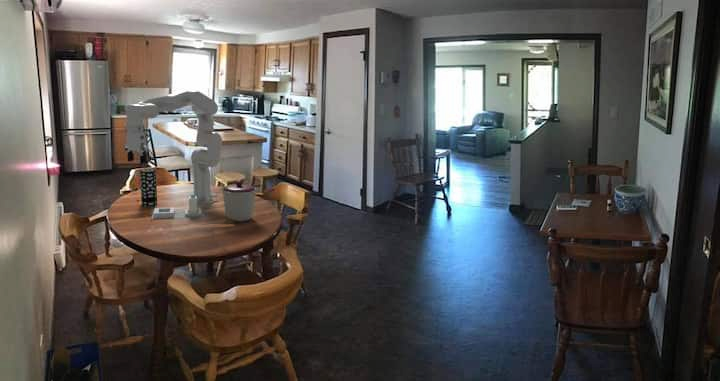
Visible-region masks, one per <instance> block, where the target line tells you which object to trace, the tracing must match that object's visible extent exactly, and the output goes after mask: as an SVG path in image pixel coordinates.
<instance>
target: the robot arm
mask: <svg viewBox="0 0 720 381" xmlns="http://www.w3.org/2000/svg"><path fill="white" fill-rule="evenodd" d="M189 106H190V107H191V110H192V111H193V113H194V114H195V116H196V117H197V120H198V126H197V133H196V140H195V141H196V144H197V145H198V146H199V147H202V148H197V149H195V150H193V151H192V153H191V155H190V162H191V164H192V173H193V174H192V175H193V176H192V178H193V180H192V181H193V195H195V196H197V205H198V206H199V205H210V204H212V203H215V202H214V198H218V197H219V196H218V194H217V193H214V194H213V193H211V192H212V191H211V171H210V168H215V167H217V166H218V165H219V162H220V160H221V153H222V147H223V138H222V136H221V134H220V133H218V132H217V131H214V123H215V122H214V119H213V116H214V115H216V114H217V113H218V109H219V107H218V103H217V102H216V101H215V100H213V99H212V98H211V97H209V96H207V95H206V94H204V93H203V92H201V91H198V90H197V89H195V90H193V89H184V90H180V91H177V92H174V93H170V94H168V95H163V96H158V97H154V98H148V99H145V100H142V101H140V102H139V101H138V102H137V103H131V104H127V105H126V106H125V114H126V129H127V131H126V142H125V143H124V144H123V146H124V149H125V151H126V154H127V162H134V160H135V159H134V158H135V157H134V153H133V152H138V153H139V154H140V155H139V162H140V164H141V165H142V164H147V155H148V154H149V153H148V152H149V149H150V148H149V146H147V139H146V134H145V131H144V121H143V120H144V119H155V118H157V117H158V116H159V114H160V113H159V112H161V113H162V112H164V113H165V112H173V111H176V110H180V109H182V108H185V107H189ZM203 148H207V149H203Z"/></svg>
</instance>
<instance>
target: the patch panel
mask: <svg viewBox="0 0 720 381" xmlns="http://www.w3.org/2000/svg"><path fill="white" fill-rule="evenodd" d="M153 210H154V211H153V212H152V215H151V218H150V220H151V222H152V221H153V220H160V219H161V220H162V219H184V218H185V219H190V218H205V210H204V209H202V208H200V207H199V208H197V213H189V208H185V209H184V210H176V208H175V206H174V207H173V206H172V207H155V208H154V209H153Z"/></svg>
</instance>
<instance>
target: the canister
mask: <svg viewBox="0 0 720 381" xmlns="http://www.w3.org/2000/svg"><path fill="white" fill-rule="evenodd" d="M243 182H244V181H242V180H236V181H235V183H234V184H228V185H225V186H224V187H222V188H221V192H222V195H223V196H222V197H223V203H224V204H223V205H224V210H225V215H226V218H227V219H229V220H233V222H239V223H240V222H246V221H249V220H251V219H252V217H253V214H254V208H255V199H256V198H255V197H256V192H257V189H258V188H257V187H255V186H253V185H251V184H245V183H243Z"/></svg>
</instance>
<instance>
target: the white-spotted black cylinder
mask: <svg viewBox="0 0 720 381" xmlns="http://www.w3.org/2000/svg"><path fill="white" fill-rule="evenodd" d="M139 177H140V178H139V179H140V180H139V181H140V198H141V200H140V201H141V206H142V207H144V208H145V207H146V208H147V207H149V208H150V207H156V206H158V193H157V192H158V191H157V190H158V189H157V188H158V187H157V171H156V169H153V168H147V169H146V168H145V169H140V170H139Z"/></svg>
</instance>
